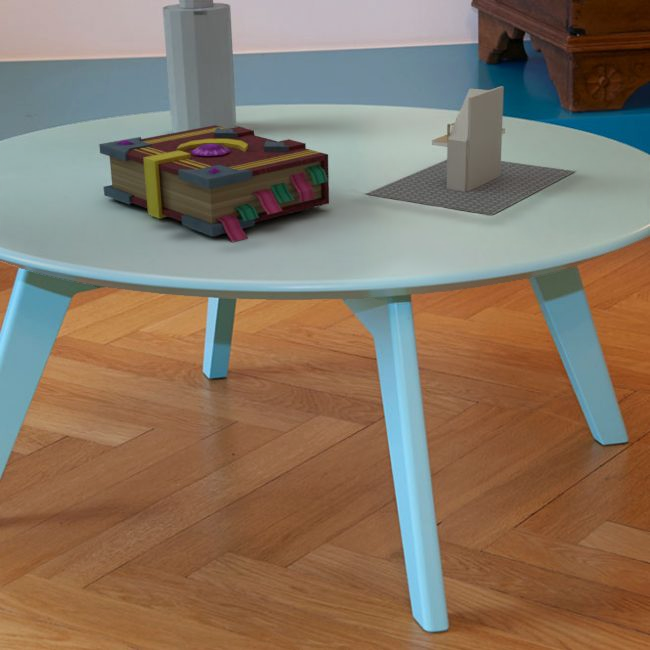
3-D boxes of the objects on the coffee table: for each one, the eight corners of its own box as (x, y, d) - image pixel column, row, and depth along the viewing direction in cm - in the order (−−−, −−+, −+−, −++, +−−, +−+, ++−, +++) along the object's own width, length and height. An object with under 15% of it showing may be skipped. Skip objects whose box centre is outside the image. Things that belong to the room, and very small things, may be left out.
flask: (175, 138, 110) (162, -34, 104) (169, 125, 116) (157, -39, 110) (240, 134, 112) (231, -36, 105) (231, 121, 117) (222, -41, 111)
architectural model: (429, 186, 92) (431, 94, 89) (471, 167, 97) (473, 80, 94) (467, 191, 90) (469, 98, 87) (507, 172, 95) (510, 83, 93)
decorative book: (219, 174, 97) (216, 116, 95) (343, 212, 86) (342, 147, 84) (103, 199, 90) (97, 137, 89) (220, 245, 79) (216, 175, 77)
